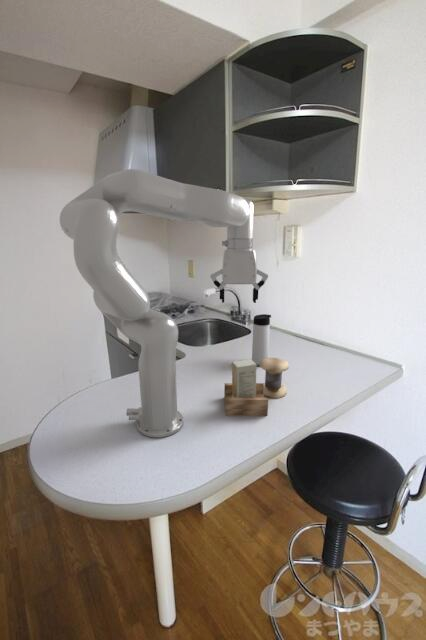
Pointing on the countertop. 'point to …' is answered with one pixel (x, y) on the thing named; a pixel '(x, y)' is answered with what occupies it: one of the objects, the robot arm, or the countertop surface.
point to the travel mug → (260, 338)
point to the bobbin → (274, 377)
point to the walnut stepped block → (245, 403)
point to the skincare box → (244, 379)
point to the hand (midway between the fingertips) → (238, 301)
